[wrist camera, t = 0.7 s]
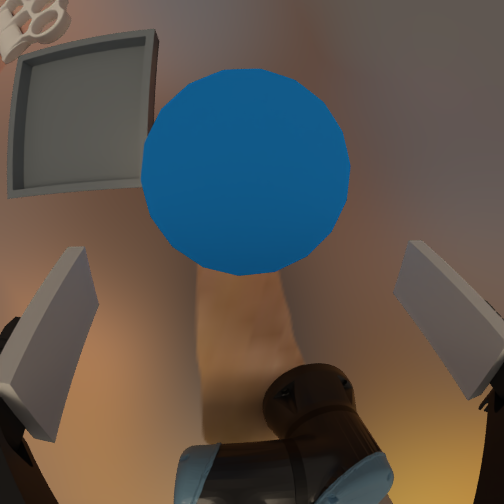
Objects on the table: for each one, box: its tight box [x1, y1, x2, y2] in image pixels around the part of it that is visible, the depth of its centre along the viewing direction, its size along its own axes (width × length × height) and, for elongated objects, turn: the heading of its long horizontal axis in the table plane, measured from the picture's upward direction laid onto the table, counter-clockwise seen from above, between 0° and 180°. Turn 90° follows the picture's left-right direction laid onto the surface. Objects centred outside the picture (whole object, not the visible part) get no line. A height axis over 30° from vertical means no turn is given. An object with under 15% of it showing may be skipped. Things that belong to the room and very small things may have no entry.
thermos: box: [141, 69, 350, 276], centre depth 27 cm, size 11×11×25 cm
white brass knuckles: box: [0, 0, 71, 64], centre depth 27 cm, size 3×18×15 cm
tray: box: [7, 29, 159, 199], centre depth 33 cm, size 20×20×4 cm
